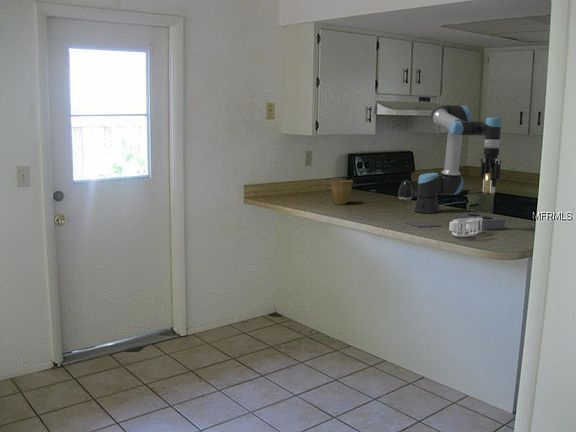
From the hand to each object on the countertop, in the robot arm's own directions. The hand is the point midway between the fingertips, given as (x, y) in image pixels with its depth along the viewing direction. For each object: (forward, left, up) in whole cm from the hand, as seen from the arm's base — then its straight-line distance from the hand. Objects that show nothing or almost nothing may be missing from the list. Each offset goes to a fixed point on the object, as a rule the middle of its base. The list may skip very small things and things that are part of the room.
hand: (488, 192), depth 315 cm
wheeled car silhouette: (+13, -21, -19) cm, 31 cm away
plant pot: (-101, -38, -19) cm, 109 cm away
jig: (-6, 0, -19) cm, 20 cm away
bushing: (0, 0, -1) cm, 1 cm away
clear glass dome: (-106, +14, -19) cm, 108 cm away
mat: (-16, -29, -19) cm, 38 cm away
